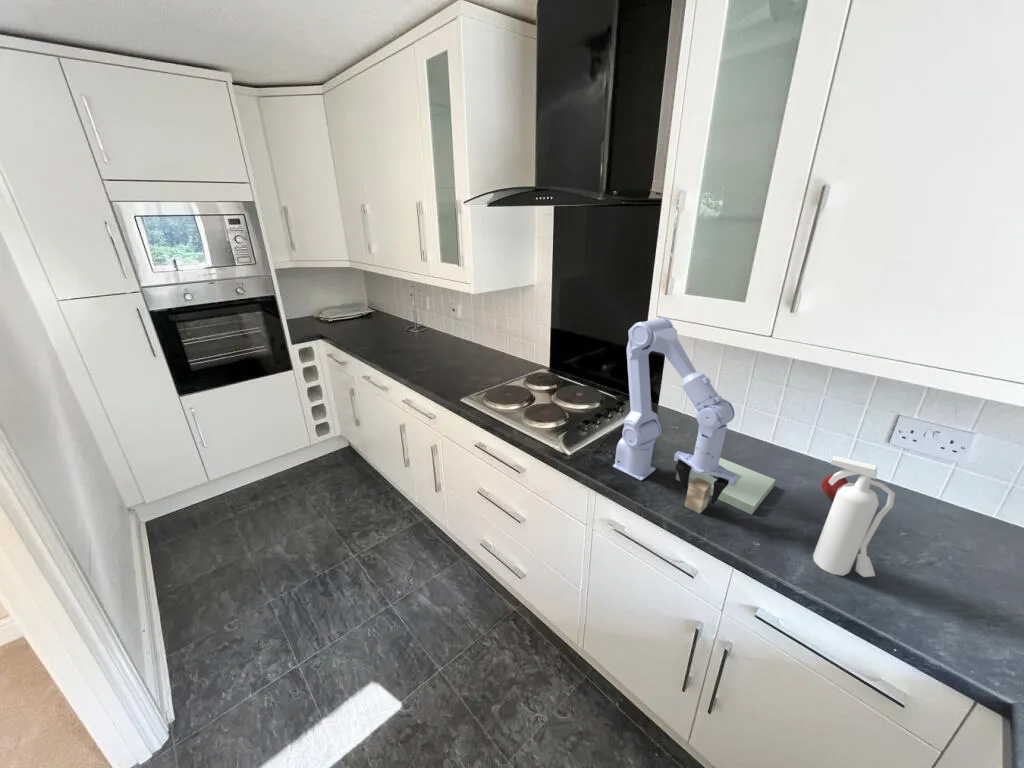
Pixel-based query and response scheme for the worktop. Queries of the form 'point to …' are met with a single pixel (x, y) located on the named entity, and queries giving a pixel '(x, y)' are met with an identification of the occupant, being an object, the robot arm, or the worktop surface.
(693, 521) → the worktop surface
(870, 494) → the fire extinguisher
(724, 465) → the well board
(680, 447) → the worktop surface
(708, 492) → the beech block
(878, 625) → the worktop surface
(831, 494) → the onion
